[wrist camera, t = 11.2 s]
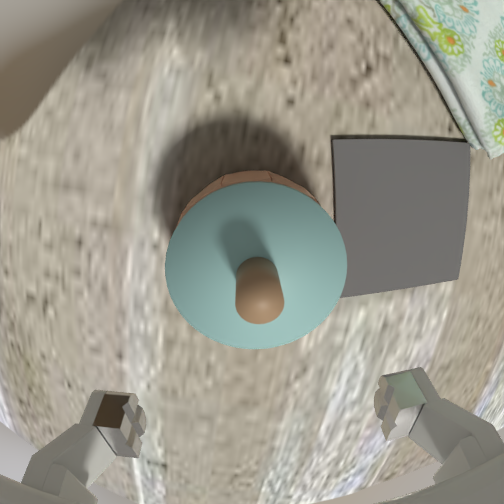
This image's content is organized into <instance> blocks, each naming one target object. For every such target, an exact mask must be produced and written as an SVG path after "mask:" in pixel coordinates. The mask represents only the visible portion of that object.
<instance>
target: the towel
mask: <svg viewBox="0 0 504 504" xmlns="http://www.w3.org/2000/svg"><path fill="white" fill-rule="evenodd" d="M380 2H381V4H382V5H383V6H384V7H385V9H386V10H387V11H388V12H389V13H390V15H391V16H392V17H393V19H394V20H395V21H396V23H397V24H398V26H399V27H400V29H401V30H402V31H403V32H404V34H405V35H406V37H407V38H408V40H409V41H410V43H411V45H412V46H413V47H414V49H415V50H416V52H417V53H418V55H419V57H420V58H421V60H422V61H423V63H424V64H425V66H426V68H427V69H428V71H429V72H430V74H431V76H432V77H433V79H434V81H435V83H436V84H437V86H438V88H439V90H440V91H441V93H442V95H443V97H444V99H445V101H446V103H447V105H448V107H449V109H450V111H451V113H452V115H453V117H454V118H455V120H456V122H457V124H458V126H459V128H460V130H461V132H462V133H463V135H464V137H465V139H466V140H467V141H468V142H469V144H470V146H471V147H472V148H474V149H476V150H478V149H480V148H481V149H484V150H485V151H486V152H487V154H488V157H489V159H493V158H494V157H498V156H500V155H501V154H503V153H504V0H380Z"/></svg>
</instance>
